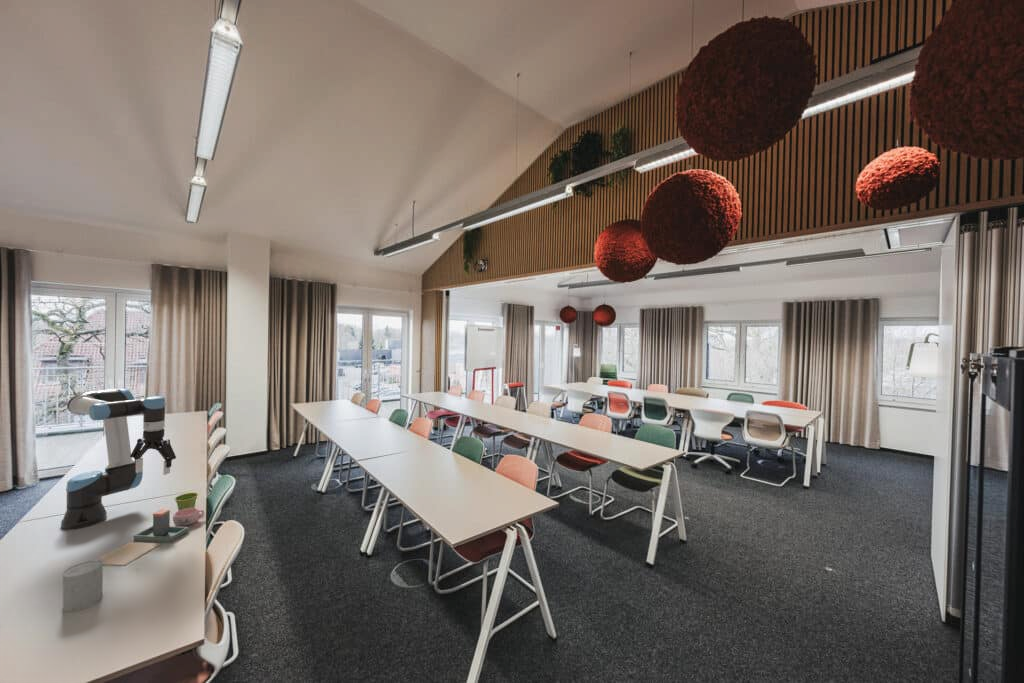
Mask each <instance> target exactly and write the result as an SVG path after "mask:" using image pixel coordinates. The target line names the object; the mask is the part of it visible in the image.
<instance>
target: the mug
mask: <svg viewBox="0 0 1024 683" xmlns="http://www.w3.org/2000/svg"><path fill="white" fill-rule="evenodd" d="M200 513H201V515H200ZM204 515H205V511H204V510H202V509H199V508H197V507H195V508H187V509H183V510H180V511H178V510H177V511H176V512H175V513H174V514H173V515H172V522H173V523H174V525H175V527H187V526H190V525H192V524H195V522H197V520H198V519H199V518H201V517H203V516H204Z"/></svg>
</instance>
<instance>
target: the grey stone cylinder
mask: <svg viewBox="0 0 1024 683" xmlns="http://www.w3.org/2000/svg"><path fill="white" fill-rule="evenodd" d="M103 566H104V565H103V562H102V561H100V560H98V559H93V560H88V561H83V562H80V563H77V564H75V565H73V566H70V567H69V568H66V570H64V571H63V572H62V611H63V612H66V613H73V612H77V611H81V610H84V609H86V608H90V607H91V606H93V605H95V604H97V603H98V602H99V601H101V600H102V598H103V597H104V594H103Z"/></svg>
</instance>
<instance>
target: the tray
mask: <svg viewBox="0 0 1024 683" xmlns="http://www.w3.org/2000/svg"><path fill="white" fill-rule="evenodd" d="M188 533H189V527H188V526H176V525H175V526H171V525H170V529H169V532H168V534H167V535H165V536H154V535H153V525H152V526H150V527H148V528H146V529H144V530H142V531H140V532H138V533H137V534H134V535H133V542H142V543H165V544H166V543H168V544H169V543H173V542H174V541H176V540H178V539H179V538H181V537H183V536H185V535H187V534H188Z"/></svg>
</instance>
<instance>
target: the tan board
mask: <svg viewBox="0 0 1024 683" xmlns="http://www.w3.org/2000/svg"><path fill="white" fill-rule="evenodd" d="M160 545H162V542H141V541H130V542H128V543H126V544H124V545H123V546H121V547H119V548H117V549H115V550H113V551H112V552H110V553H108V554H106V555H104V556H102V557H100V558H99V559H97V560H100V561H102V562H103V566H116V567H117V566H120V567H122V566H124V567H125V566H127V565H129V564H130V563H132V562H133V561H135V560H137V559H139V558H141V557H142V556H144V555H145V554H147V553H149V552H150V551H152V550H154V549H156V548H157V547H159V546H160Z"/></svg>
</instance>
